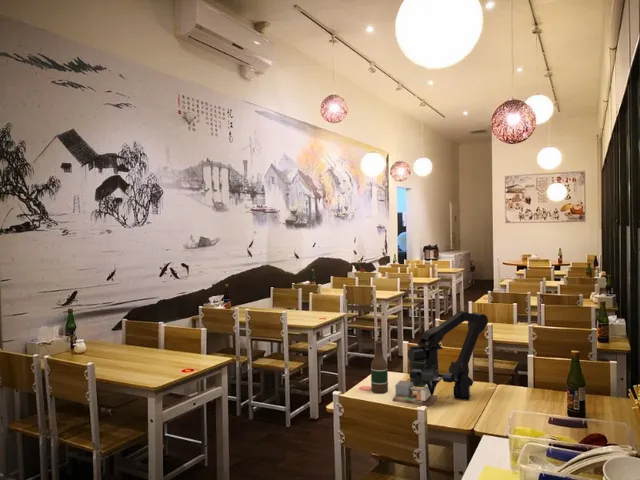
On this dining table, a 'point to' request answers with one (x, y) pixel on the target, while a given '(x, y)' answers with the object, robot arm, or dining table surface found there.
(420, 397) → the peach cube
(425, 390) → the plunger
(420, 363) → the mug
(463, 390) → the robot arm
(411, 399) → the base
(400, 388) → the notched steel block
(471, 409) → the dining table surface
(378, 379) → the beer bottle
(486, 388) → the dining table surface
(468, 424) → the dining table surface
